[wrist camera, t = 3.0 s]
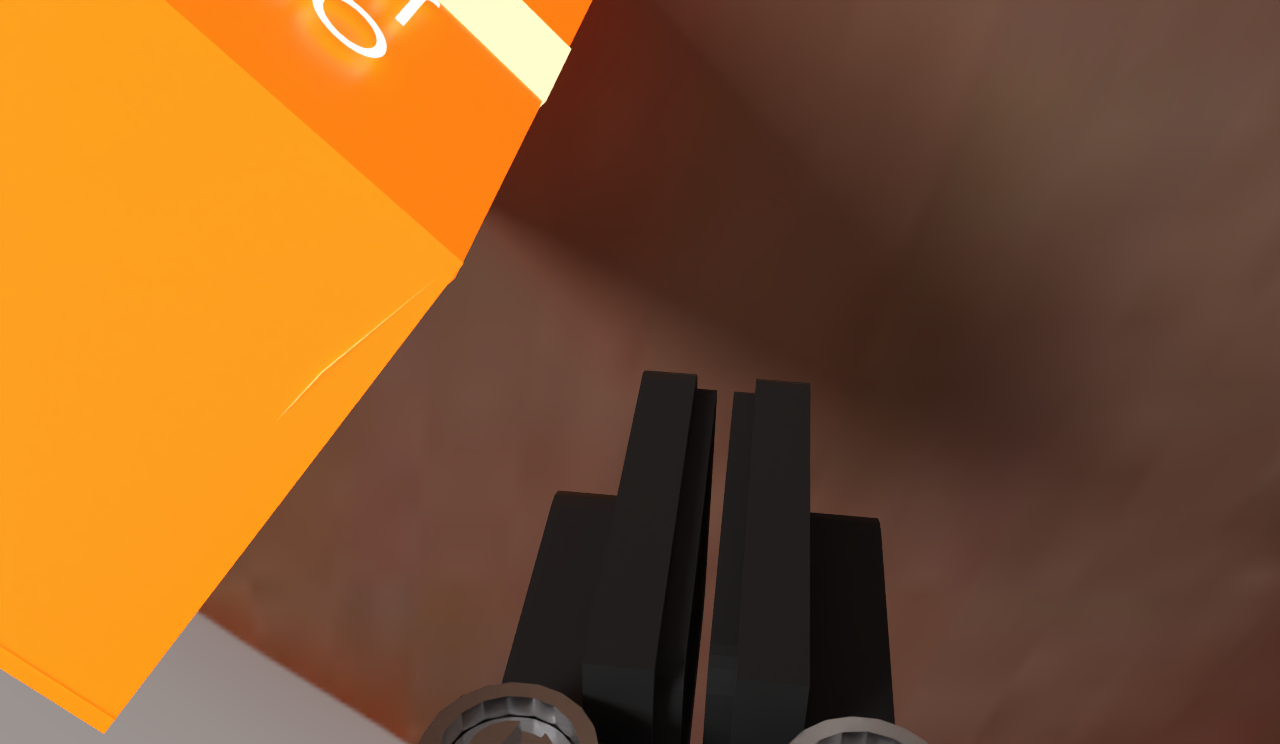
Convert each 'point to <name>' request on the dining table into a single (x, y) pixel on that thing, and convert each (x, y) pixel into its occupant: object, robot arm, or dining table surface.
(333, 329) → the orange juice
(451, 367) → the dining table surface
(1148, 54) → the dining table surface
